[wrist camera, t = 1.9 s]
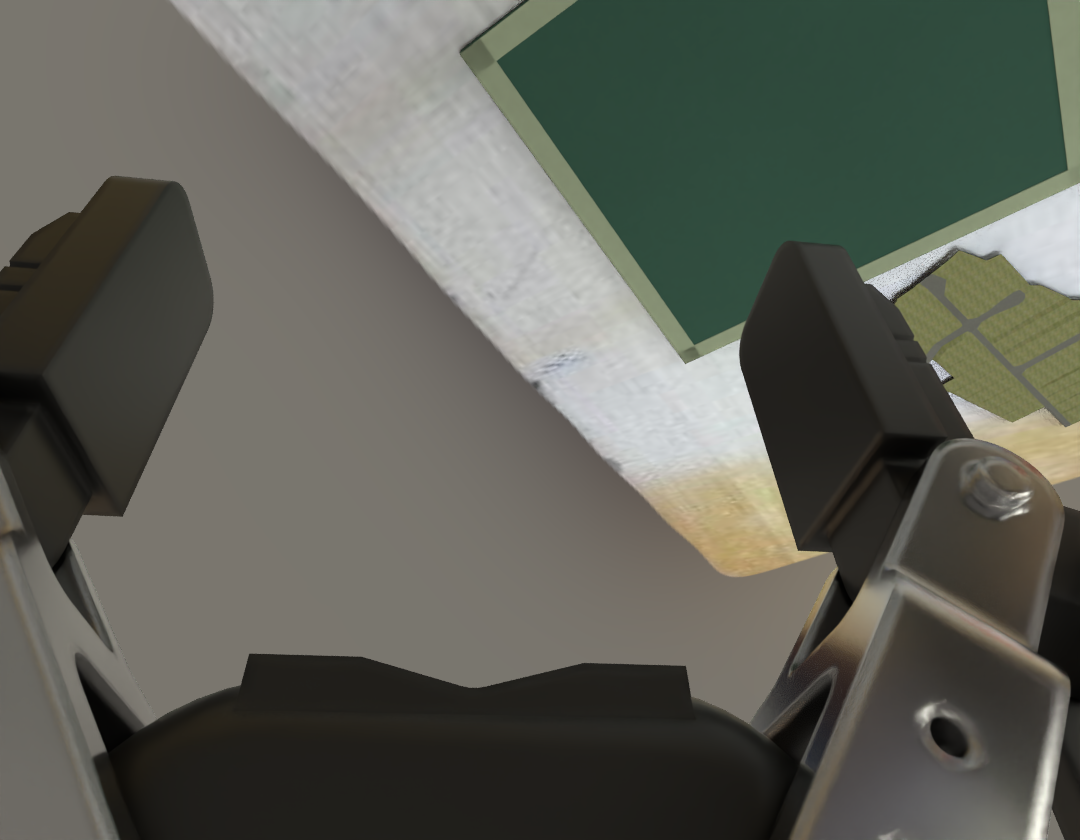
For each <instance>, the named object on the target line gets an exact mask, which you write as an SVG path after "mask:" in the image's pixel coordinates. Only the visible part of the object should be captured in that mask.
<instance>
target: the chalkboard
mask: <svg viewBox="0 0 1080 840" xmlns="http://www.w3.org/2000/svg"><path fill="white" fill-rule="evenodd" d="M460 55H461V57H462V58H463V59H464V61H465V62H466V64H467V65H468V66H469V68H470V69H471V70H472V72H473V73H474V75H475V76H476V77H477V79H478V80H479V81H480V83H481V84H482V86H483V87H484V88H485V90H486V91H487V92H488V94H489V95H490V96H491V98H492V99H493V101H494V102H495V103H496V105H497V106H498V107H499V109H500V110H501V112H502V113H503V114H504V116H505V117H506V118H507V120H508V121H509V123H510V124H511V125H512V127H513V128H514V129H515V131H516V132H517V134H518V135H519V136H520V138H521V139H522V140H523V142H524V143H525V144H526V146H527V147H528V149H529V150H530V151H531V153H532V154H533V155H534V157H535V158H536V160H537V161H538V162H539V164H540V165H541V166H542V168H543V169H544V171H545V172H546V173H547V175H548V176H549V177H550V179H551V180H552V182H553V183H554V184H555V186H556V187H557V188H558V190H559V191H560V192H561V194H562V195H563V197H564V198H565V199H566V201H567V202H568V203H569V205H570V206H571V208H572V209H573V210H574V212H575V213H576V214H577V216H578V217H579V219H580V220H581V221H582V223H583V224H584V225H585V227H586V228H587V230H588V231H589V232H590V234H591V235H592V236H593V238H594V239H595V241H596V242H597V243H598V245H599V246H600V247H601V249H602V250H603V251H604V253H605V254H606V256H607V257H608V258H609V260H610V261H611V262H612V264H613V265H614V267H615V268H616V269H617V271H618V272H619V273H620V275H621V276H622V278H623V279H624V280H625V282H626V283H627V284H628V286H629V287H630V289H631V290H632V291H633V293H634V294H635V295H636V297H637V298H638V299H639V301H640V302H641V304H642V305H643V306H644V308H645V309H646V310H647V312H648V313H649V315H650V316H651V317H652V319H653V320H654V321H655V323H656V324H657V326H658V327H659V328H660V330H661V331H662V332H663V334H664V335H665V337H666V338H667V339H668V341H669V342H670V343H671V345H672V346H673V347H674V349H675V350H676V352H677V353H678V354H679V356H680V357H681V358H682V360H683V361H684V363H685V364H686V363H689V362H691V361H693V360H695V359H697V358H699V357H702V356H704V355H706V354H708V353H710V352H712V351H715V350H717V349H719V348H721V347H723V346H726V345H728V344H730V343H732V342H734V341H736V340H739V339H741V335H742V331H743V328H744V325H745V322H746V320H747V318H748V316H749V313H750V311H751V309H752V306H753V304H754V302H755V299H756V297H757V295H758V292H759V290H760V288H761V286H762V283H763V281H764V279H765V276H766V274H767V272H768V269H769V267H770V265H771V262H772V260H773V258H774V256H775V254H776V252H777V250H778V249H779V247H780V246H781V245H782V244H783V243H784V242H786V241H800V242H810V243H821V244H832V245H840V246H842V247H843V248H845V250H846V251H847V253H848V255H849V256H850V258H851V260H852V262H853V264H854V265H855V267H856V269H857V271H858V273H859V274H860V276H861V278H862V280H863V282H865V281H867V280H869V279H871V278H873V277H876V276H878V275H880V274H882V273H884V272H886V271H889V270H891V269H893V268H895V267H897V266H900V265H902V264H904V263H906V262H908V261H910V260H913V259H915V258H917V257H919V256H921V255H923V254H926V253H928V252H930V251H932V250H934V249H937V248H939V247H941V246H943V245H945V244H947V243H950V242H952V241H954V240H956V239H958V238H960V237H963V236H965V235H967V234H969V233H971V232H973V231H976V230H978V229H980V228H982V227H984V226H987V225H989V224H991V223H993V222H995V221H997V220H1000V219H1002V218H1004V217H1006V216H1008V215H1010V214H1013V213H1015V212H1017V211H1019V210H1021V209H1024V208H1026V207H1028V206H1030V205H1032V204H1034V203H1037V202H1039V201H1041V200H1043V199H1045V198H1047V197H1050V196H1052V195H1054V194H1056V193H1058V192H1061V191H1063V190H1065V189H1067V188H1069V187H1071V186H1074V185H1076V184H1078V183H1080V0H525V1H524V2H523V3H522V4H520V5H519V6H518V7H516V8H515V9H514V10H513V11H511V12H510V13H509V14H507V15H506V16H505V17H504V18H502V19H501V20H500V21H498V22H497V23H496V24H494V25H493V26H492V27H491V28H489V29H488V30H487V31H485V32H484V33H483V34H482V35H480V36H479V37H478V38H476V39H475V40H474V41H473V42H471V43H470V44H469V45H467V46H466V47H465V48H464V49H462V50H461V51H460Z"/></svg>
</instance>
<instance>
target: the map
mask: <svg viewBox="0 0 1080 840" xmlns="http://www.w3.org/2000/svg"><path fill="white" fill-rule="evenodd" d="M896 300H898V301H897V302H896V303H895V304H894V305H895V306H896V307H897V308H898V309H899V310H900V312H901V313H902V315H903V317H904V319H905V320H906V322H907V324H908V325H909V327H910V329H911V331H912V332H913V334H914V341H918V343H919V344H920V346H921V348H922V349H923V351H924V353H925V355H926V356H927V360H926V363H930V361H931V360H934V361H936V362H937V363H938V364H939V365H940V366H942V367H943V368H944V369H945V370H946V371H947V372H948V373H949V374H950V375H951V376H953V377H954V379H952V380H950V381H948V382H947V383H945V384H943V386H944V387H945V389H946V391H947V392H951V393H953V394H955V395H957V396H959V397H961V398H963V399H965V400H966V401H969V402H971V403H973V404H975V405H977V406H979V407H981V408H983V409H986V410H988V411H989V412H991V413H994V414H996V415H998V416H1000V417H1002V418H1004V419H1006V420H1008V421H1010V422H1014V421H1016V420H1018V419H1020V418H1023V417H1025V416H1027V415H1029V414H1031V413H1033V412H1035V411H1037V410H1039V409H1041V408H1043V407H1045V408H1047V409H1048V410H1049V411H1050V412H1051V413H1052V414H1053V415H1054V416H1055V417H1056V418H1057V419H1058V420H1059V421H1060V422H1061V423H1062V424H1063V425H1064V426H1065V427H1067V426H1070V425H1072V424H1074V423H1076V422H1079V421H1080V300H1071V299H1069V298H1068V297H1066V296H1063V295H1061V294H1059V293H1057V292H1055V291H1053V290H1050V289H1048V288H1046V287H1044V286H1041V285H1029V284H1028V283H1027V281H1026V280H1025V279H1024V278H1023V277H1022V276H1021V275H1020V274H1019V273H1018V272H1017V271H1016V270H1015V268H1014V267H1013V266H1012V265H1011V264H1010V263H1009V262H1008V261H1007V260H1006V259H1005V258H1004V257H1003V256H1002V255H1001V254H1000V255H998V256H996V257H994V258H991V259H989V260H987V261H986V260H984V259H981V258H978V257H976V256H973V255H970V254H967V253H965V252H962V251H958V252H957V253H956V254H955V255H954V256H953V257H952V258H951V259H950V260H948V261H947V262H946V263H944V264H943V265H942V266H941V267H939V268H938V269H937V270H935V271H934V272H933V273H932V274H930V275H929V276H928V277H926V278H925V279H924V280H923V281H921V282H920V283H919V284H917V285H916V286H915V287H914V288H913V289H911V290H910V291H908V292H907V293H905V294H904V295H902V296H901V297H899V298H898V299H896Z"/></svg>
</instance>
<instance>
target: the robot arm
mask: <svg viewBox="0 0 1080 840" xmlns="http://www.w3.org/2000/svg"><path fill="white" fill-rule="evenodd" d="M212 314H213V288H212V282H211V278H210V274H209V271H208V267H207V263H206V260H205V256H204V253H203V249H202V246H201V242H200V238H199V235H198V231H197V228H196V224H195V221H194V217H193V213H192V210H191V206H190V203H189V200H188V197H187V194H186V192H185V190H184V189H183V187H182V186H181V185H180V184H179V183H177V182H174V181H164V180H154V179H142V178H132V177H121V176H111V177H110V178H108V179H107V180H106V181H105V182H104V183H103V185H102V186H101V187H100V189H99V190H98V191H97V192H96V194H95V195H94V196H93V197H92V199H91V200H90V201H89V203H88V204H87V205H86V206H85V208H84V209H83V210H82V212H81V213H74V212H69V213H67V214H65V215H63V216H62V217H60V218H58V219H57V220H55V221H53V222H51V223H50V224H48V225H46V226H45V227H43V228H41V229H39V230H38V231H36V232H34V233H33V234H31V236H30V237H29V238H28V239H27V240H26V242H25V243H24V244H23V245H22V247H21V248H20V249H19V250H18V251H17V252H16V254H15V255H14V256H13V257H12V258H11V260H10V267H6V266H5V267H4V268H3V269H2V270H1V272H0V840H1047V834H1048V828H1049V821H1050V816H1051V810H1053V813H1054V815H1055V817H1056V820H1057V822H1058V824H1059V827H1060V829H1061V832H1062V834H1063V837H1064V839H1065V840H1080V511H1077V510H1074V509H1071V508H1068V507H1065V506H1063V505H1062V502H1061V500H1060V497H1059V496H1058V494H1057V492H1056V491H1055V489H1054V488H1053V486H1052V485H1051V484H1050V482H1049V481H1048V480H1047V479H1046V478H1045V477H1044V476H1043V475H1042V474H1041V473H1040V472H1039V471H1038V470H1037V469H1036V468H1035V467H1033V466H1032V465H1031V464H1030V463H1028V462H1027V461H1025V460H1024V459H1023V458H1021V457H1020V456H1018V455H1016V454H1014V453H1013V452H1011V451H1009V450H1007V449H1005V448H1002V447H1000V446H998V445H995V444H992V443H989V442H986V441H982V440H977V439H974V437H973V435H972V434H971V432H970V430H969V429H968V427H967V425H966V423H965V422H964V420H963V418H962V417H961V415H960V413H959V411H958V410H957V408H956V406H955V405H954V403H953V401H952V399H951V398H950V396H949V394H948V392H947V391H946V389H945V387H944V386H943V384H942V382H941V380H940V379H939V377H938V375H937V374H936V372H935V370H934V368H933V367H932V365H931V364H929V363H926V360H927V356H926V355H925V353H924V351H923V349H922V348H921V346H920V344H919V343H918V341H914V334H913V332H912V331H911V329H910V327H909V325H908V324H907V322H906V320H905V319H904V317H903V315H902V313H901V312H900V310H899V309H898V308H897V307H896V306H895V305H894V304H893V303H892V302H891V301H889V300H888V299H887V298H886V297H885V296H884V295H883V294H882V293H880V292H879V291H878V290H877V289H876V288H875V287H874V286H873V285H872V284H864V282H863V280H862V278H861V276H860V274H859V273H858V271H857V269H856V267H855V265H854V264H853V262H852V260H851V258H850V256H849V255H848V253H847V251H846V250H845V248H843V247H842V246H840V245H832V244H821V243H810V242H800V241H786V242H784V243H783V244H782V245H781V246H780V247H779V249H778V250H777V252H776V254H775V256H774V258H773V260H772V262H771V265H770V267H769V269H768V272H767V274H766V276H765V279H764V281H763V283H762V286H761V288H760V290H759V292H758V295H757V297H756V299H755V302H754V304H753V306H752V309H751V311H750V313H749V316H748V318H747V320H746V322H745V325H744V328H743V331H742V335H741V340H740V350H739V357H740V366H741V370H742V373H743V376H744V379H745V382H746V386H747V389H748V392H749V395H750V398H751V402H752V405H753V408H754V411H755V414H756V418H757V421H758V424H759V427H760V430H761V434H762V437H763V440H764V443H765V446H766V450H767V453H768V456H769V459H770V462H771V465H772V469H773V472H774V475H775V478H776V481H777V485H778V488H779V491H780V494H781V497H782V501H783V504H784V507H785V510H786V513H787V517H788V520H789V523H790V526H791V529H792V533H793V536H794V539H795V542H796V545H797V549H798V551H819V552H833V555H834V558H835V561H836V564H837V567H836V568H835V569H834V571H833V572H832V573H831V574H830V576H829V577H828V579H827V580H826V582H825V584H824V586H823V588H822V590H821V592H820V594H819V596H818V598H817V600H816V603H815V604H814V607H813V609H812V611H811V613H810V615H809V617H808V619H807V621H806V623H805V625H804V627H803V629H802V631H801V633H800V635H799V637H798V639H797V641H796V643H795V645H794V647H793V649H792V652H791V653H790V656H789V657H788V659H787V661H786V663H785V666H784V668H783V670H782V672H781V674H780V676H779V678H778V680H777V682H776V683H775V685H774V687H773V688H772V690H771V692H770V694H769V695H768V697H767V698H766V699H765V701H764V702H763V704H762V705H761V706H760V708H759V709H758V711H757V712H756V714H755V716H754V717H753V719H752V720H751V722H750V723H749V724H748V723H746V722H744V721H743V720H741V719H739V718H737V717H736V716H734V715H732V714H730V713H729V712H727V711H725V710H723V709H721V708H719V707H716V706H714V705H712V704H709V703H707V702H705V701H703V700H700V699H697V698H694V697H691V694H690V688H689V682H688V676H687V670H686V666H668V665H634V664H630V665H629V664H598V663H582V664H578V665H574V666H570V667H566V668H561V669H557V670H553V671H549V672H545V673H541V674H536V675H532V676H529V677H524V678H520V679H516V680H511V681H507V682H503V683H499V684H495V685H491V686H487V687H482V688H468V687H463V686H459V685H456V684H452V683H449V682H445V681H442V680H439V679H435V678H432V677H428V676H425V675H422V674H418V673H415V672H411V671H408V670H405V669H401V668H398V667H395V666H391V665H388V664H384V663H381V662H378V661H374V660H371V659H367V658H363V657H348V656H313V655H277V654H276V655H275V654H249V657H248V661H247V664H246V668H245V672H244V676H243V679H242V684H241V685H240V686H236V687H232V688H228V689H224V690H222V691H219V692H216V693H213V694H210V695H208V696H205V697H202V698H199V699H196V700H194V701H192V702H190V703H188V704H186V705H184V706H182V707H180V708H178V709H175V710H173V711H171V712H169V713H167V714H165V715H164V716H162V717H160V718H159V719H157V718H156V717H155V714H154V712H153V710H152V709H151V707H150V705H149V703H148V701H147V699H146V697H145V696H144V694H143V692H142V691H141V689H140V687H139V686H138V684H137V682H136V680H135V679H134V677H133V675H132V673H131V671H130V669H129V667H128V665H127V662H126V660H125V658H124V656H123V653H122V651H121V649H120V646H119V644H118V642H117V639H116V637H115V635H114V632H113V630H112V627H111V625H110V623H109V620H108V618H107V616H106V613H105V611H104V609H103V606H102V604H101V602H100V599H99V597H98V595H97V592H96V590H95V588H94V585H93V583H92V580H91V578H90V576H89V573H88V571H87V569H86V566H85V564H84V562H83V559H82V557H81V555H80V552H79V550H78V548H77V546H76V545H75V543H74V541H73V540H72V539H71V536H72V534H73V532H74V530H75V528H76V526H77V524H78V522H79V520H80V518H81V516H82V515H100V516H123V514H124V512H125V510H126V508H127V506H128V503H129V501H130V499H131V497H132V495H133V492H134V490H135V488H136V486H137V483H138V481H139V479H140V477H141V475H142V473H143V471H144V468H145V466H146V464H147V462H148V460H149V457H150V455H151V453H152V451H153V449H154V446H155V444H156V442H157V440H158V438H159V436H160V433H161V431H162V429H163V427H164V425H165V422H166V420H167V418H168V416H169V414H170V412H171V409H172V407H173V405H174V403H175V400H176V398H177V396H178V394H179V392H180V390H181V387H182V385H183V383H184V381H185V379H186V376H187V374H188V372H189V370H190V367H191V366H192V363H193V361H194V359H195V357H196V355H197V352H198V350H199V348H200V346H201V344H202V341H203V339H204V337H205V335H206V333H207V331H208V328H209V326H210V322H211V319H212Z"/></svg>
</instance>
